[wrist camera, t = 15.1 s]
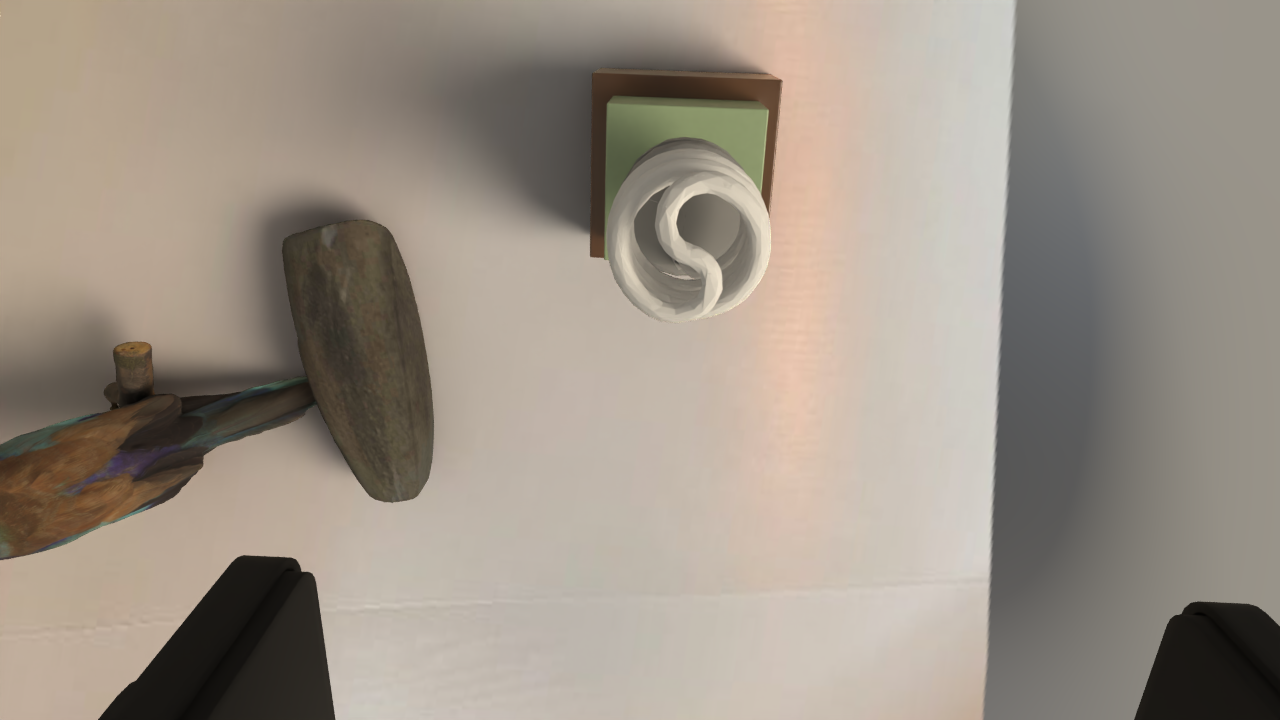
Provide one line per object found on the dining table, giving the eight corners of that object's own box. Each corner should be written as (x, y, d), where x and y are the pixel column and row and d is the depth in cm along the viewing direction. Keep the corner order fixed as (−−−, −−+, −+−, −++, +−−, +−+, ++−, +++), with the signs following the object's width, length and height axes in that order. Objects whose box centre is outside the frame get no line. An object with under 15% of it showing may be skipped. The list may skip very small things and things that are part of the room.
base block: (771, 74, 43) (783, 79, 39) (756, 243, 46) (765, 264, 42) (599, 67, 43) (591, 72, 39) (596, 236, 46) (589, 257, 42)
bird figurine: (299, 295, 47) (-118, 484, 33) (358, 443, 51) (7, 670, 37) (183, 294, 55) (-197, 447, 41) (241, 422, 59) (-87, 604, 44)
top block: (759, 101, 39) (768, 109, 35) (747, 245, 42) (754, 266, 38) (612, 95, 39) (606, 103, 35) (609, 239, 42) (603, 260, 38)
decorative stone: (286, 221, 47) (252, 238, 43) (396, 206, 46) (371, 223, 42) (364, 481, 53) (340, 517, 49) (461, 471, 52) (444, 507, 49)
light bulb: (752, 240, 38) (786, 332, 26) (630, 255, 38) (613, 351, 27) (741, 113, 35) (773, 155, 24) (612, 130, 36) (586, 179, 25)
